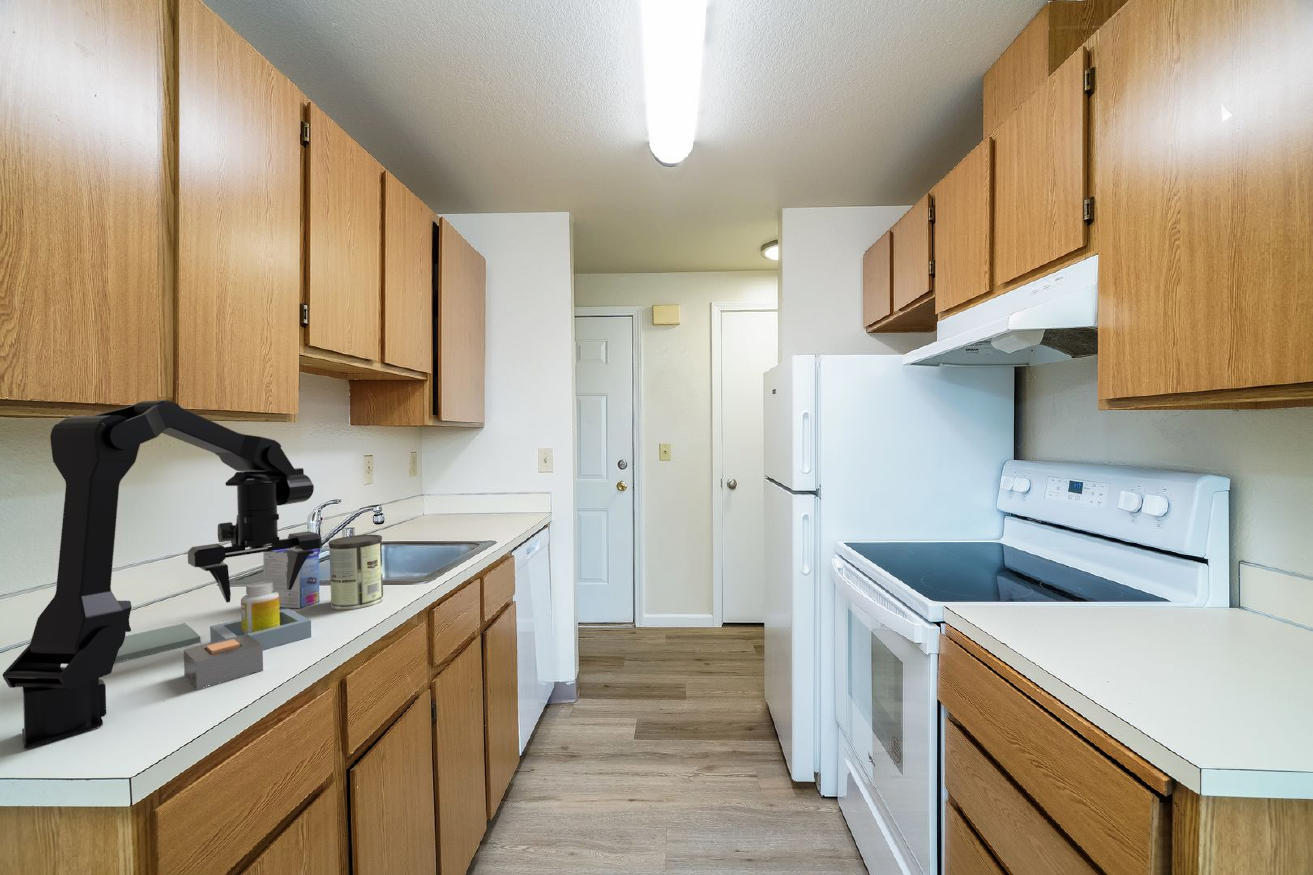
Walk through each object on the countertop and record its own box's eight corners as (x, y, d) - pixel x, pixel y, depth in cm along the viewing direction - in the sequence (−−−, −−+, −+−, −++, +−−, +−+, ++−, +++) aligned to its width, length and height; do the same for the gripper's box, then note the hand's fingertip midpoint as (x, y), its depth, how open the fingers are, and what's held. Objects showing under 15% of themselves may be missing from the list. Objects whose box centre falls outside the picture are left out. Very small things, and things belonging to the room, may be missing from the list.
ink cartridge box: (321, 601, 120) (320, 536, 120) (300, 609, 114) (299, 541, 114) (284, 599, 122) (283, 535, 122) (262, 607, 116) (260, 540, 116)
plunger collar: (196, 690, 78) (196, 662, 78) (184, 675, 83) (183, 649, 83) (263, 670, 84) (262, 644, 84) (247, 657, 89) (247, 633, 89)
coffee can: (345, 596, 123) (343, 535, 123) (391, 594, 124) (390, 533, 124) (319, 611, 113) (318, 544, 113) (370, 609, 113) (368, 542, 113)
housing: (229, 659, 89) (228, 640, 88) (210, 642, 96) (210, 625, 96) (311, 636, 98) (310, 620, 98) (288, 623, 105) (287, 608, 105)
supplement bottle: (287, 634, 99) (286, 579, 99) (263, 646, 94) (261, 587, 94) (259, 633, 100) (258, 579, 100) (233, 645, 94) (232, 587, 94)
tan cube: (212, 670, 81) (212, 650, 81) (207, 665, 83) (206, 645, 83) (240, 663, 83) (239, 643, 83) (234, 657, 86) (233, 638, 86)
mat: (105, 665, 87) (105, 659, 87) (96, 648, 95) (96, 642, 95) (200, 641, 97) (200, 636, 96) (185, 628, 104) (185, 622, 104)
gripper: (300, 500, 109) (302, 577, 109) (179, 512, 95) (181, 600, 95) (321, 504, 102) (323, 586, 102) (194, 517, 88) (196, 612, 88)
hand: (259, 595), depth 97 cm, fingers open, 9 cm apart
